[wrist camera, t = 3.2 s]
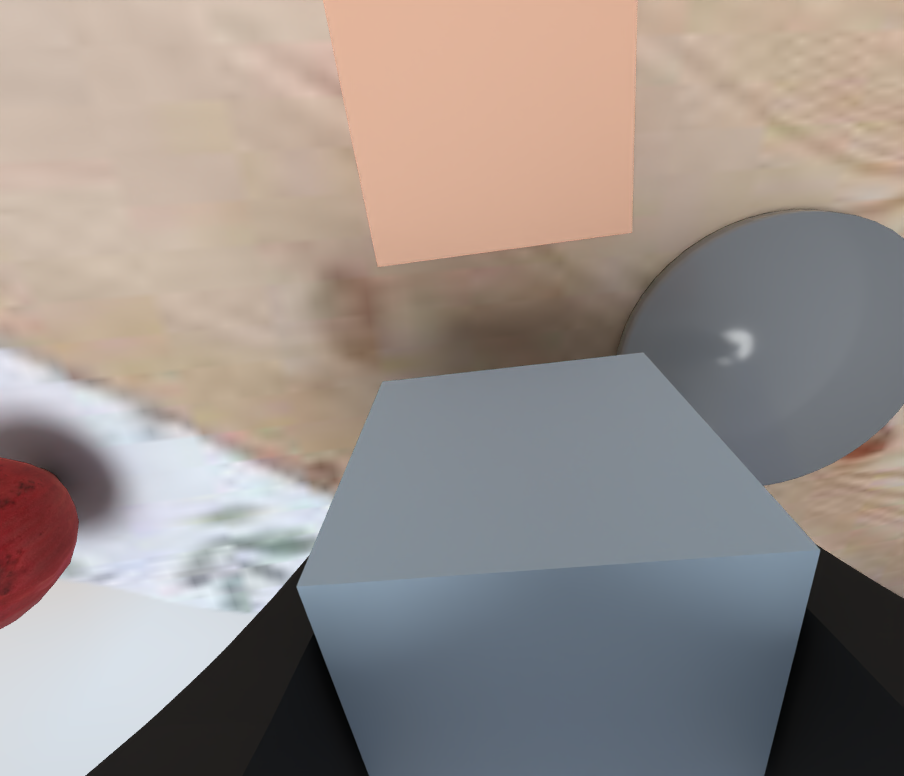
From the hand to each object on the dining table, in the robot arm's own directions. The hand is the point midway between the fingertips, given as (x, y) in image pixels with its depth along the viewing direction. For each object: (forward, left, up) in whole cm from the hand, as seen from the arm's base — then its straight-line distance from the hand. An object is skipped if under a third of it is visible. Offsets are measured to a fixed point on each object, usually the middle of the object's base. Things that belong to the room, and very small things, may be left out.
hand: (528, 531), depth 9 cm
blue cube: (0, 0, -2) cm, 2 cm away
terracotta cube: (+4, -6, -8) cm, 11 cm away
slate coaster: (-7, -4, -8) cm, 11 cm away
